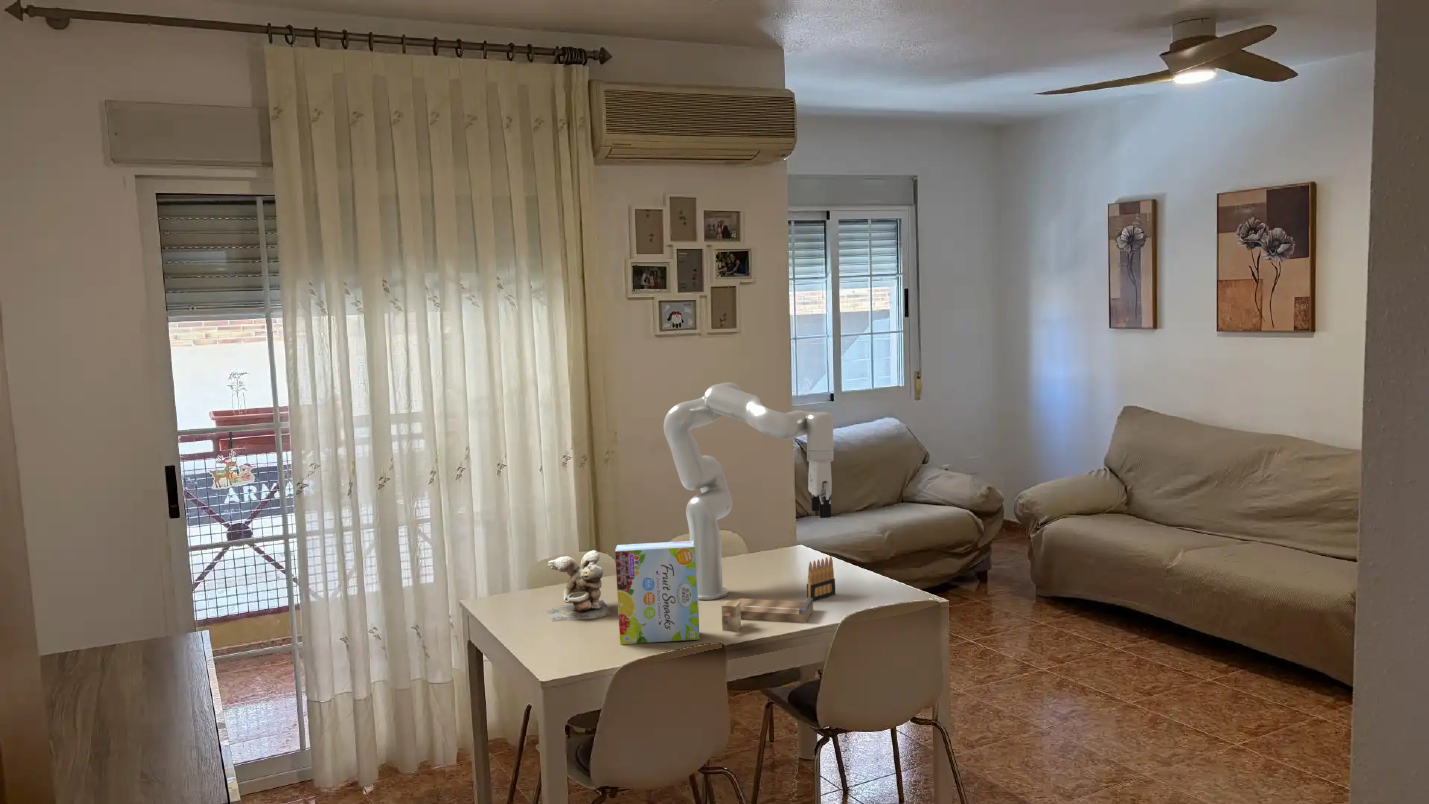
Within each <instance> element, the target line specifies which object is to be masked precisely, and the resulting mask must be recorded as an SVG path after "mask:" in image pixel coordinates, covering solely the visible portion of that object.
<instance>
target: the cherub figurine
mask: <svg viewBox="0 0 1429 804" xmlns="http://www.w3.org/2000/svg"><path fill="white" fill-rule="evenodd" d="M583 555H584V556H583V557H582V559H581V560H580V565H578V563H577V562H576V560H575V559H574V558H572V557H570V556H568V555H567V556H559V557H557V558H556V559H552V560H549V561H548V562H547V566H548V567H550V569H551V570H554V571H558V572H560V573H566V574H567V575H568V576H569V579H568V581H567V583H566V586H565V587H564V589H563V602H564V603H567V604H564V605H562V606H554V607H551V608H549V609H546V610H545V611H546V612H547V615H548V616H549V617H550V619H551V622H554V623H555V622H562V621H573V620H574V621H575V620H577V621H578V620H587V619H588V620H589V619H596V618H605V617H607V616H610V609H609V607H608V605H607V604H606V603H605V601H604V600H603V599H602V600H600V598H601V594H602V592H601V588H602V585H603V584H602V577H603V574H604V571H603V568H602V567H601V566H600V565H598V564H597V563H598V562H599V560H600V558H601V557H600V554H599V553H598V551H597V550H595V549H594V550H590V551H588V552H586V553H585V554H583Z"/></svg>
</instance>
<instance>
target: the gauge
mask: <svg viewBox="0 0 1429 804" xmlns="http://www.w3.org/2000/svg"><path fill="white" fill-rule="evenodd" d="M721 622H722V623H721V627H722V629H721V630H722V631H724V632H726V631H727V632H737V631H738V630H739V629H740V628H741V627H742V619H741V606H740V601H738V600H726V601H724V602H723V604H722V605H721Z"/></svg>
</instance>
